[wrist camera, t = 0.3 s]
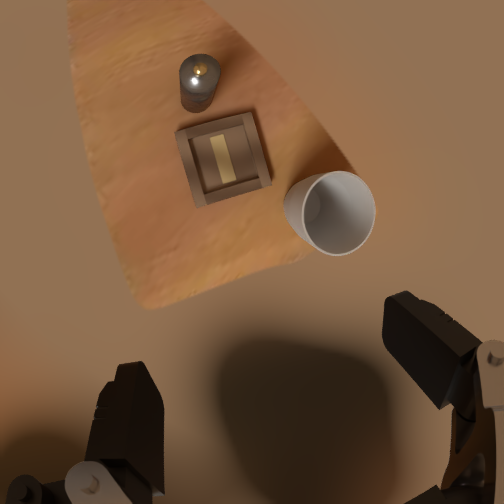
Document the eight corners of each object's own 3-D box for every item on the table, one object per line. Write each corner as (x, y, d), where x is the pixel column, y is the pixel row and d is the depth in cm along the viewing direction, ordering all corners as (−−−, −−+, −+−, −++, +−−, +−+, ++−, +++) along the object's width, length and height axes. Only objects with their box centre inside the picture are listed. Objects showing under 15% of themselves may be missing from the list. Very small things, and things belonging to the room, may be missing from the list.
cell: (177, 89, 30) (175, 56, 20) (207, 82, 30) (215, 47, 21) (185, 116, 31) (184, 91, 21) (215, 108, 31) (226, 81, 22)
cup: (319, 244, 38) (359, 264, 29) (262, 226, 36) (289, 242, 26) (338, 185, 37) (384, 189, 27) (283, 163, 35) (317, 157, 25)
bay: (174, 134, 31) (174, 132, 30) (248, 114, 32) (251, 111, 31) (196, 207, 34) (196, 208, 32) (269, 185, 35) (272, 185, 34)
